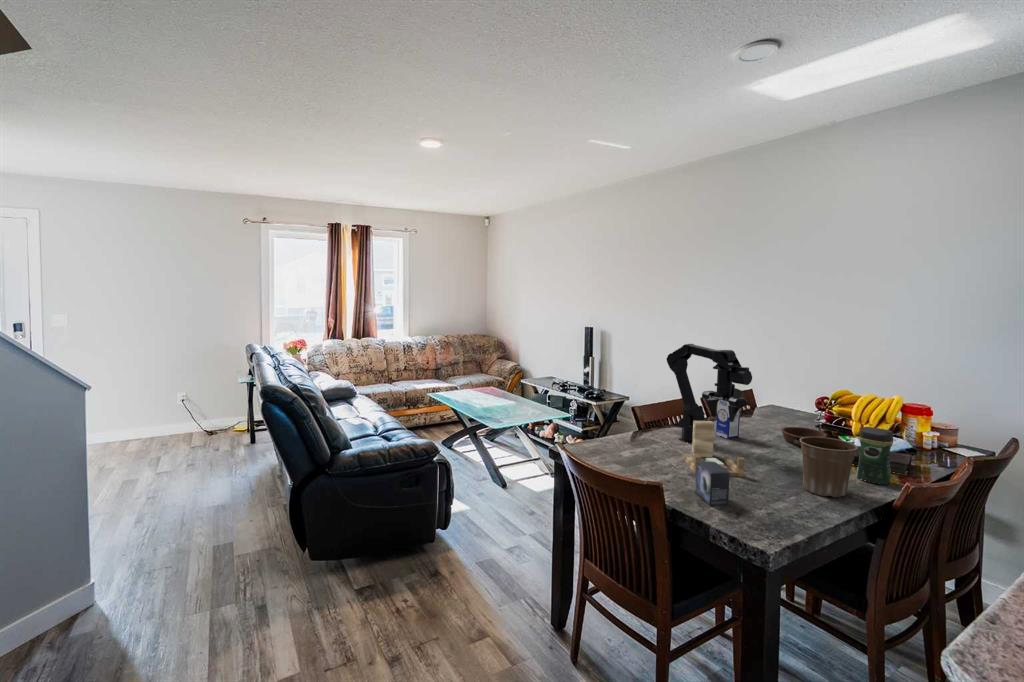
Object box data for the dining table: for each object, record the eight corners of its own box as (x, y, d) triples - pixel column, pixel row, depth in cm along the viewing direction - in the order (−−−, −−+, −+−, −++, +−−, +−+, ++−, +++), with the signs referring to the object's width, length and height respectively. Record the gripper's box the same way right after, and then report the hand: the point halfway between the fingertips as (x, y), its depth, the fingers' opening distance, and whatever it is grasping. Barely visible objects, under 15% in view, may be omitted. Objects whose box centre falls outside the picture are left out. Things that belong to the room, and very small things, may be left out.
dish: (776, 445, 226) (777, 433, 225) (783, 434, 244) (784, 423, 243) (823, 452, 216) (824, 440, 215) (827, 440, 234) (828, 429, 233)
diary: (835, 452, 218) (836, 440, 218) (910, 466, 202) (912, 453, 202) (826, 462, 204) (827, 449, 204) (907, 478, 188) (908, 464, 187)
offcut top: (714, 462, 193) (714, 457, 193) (724, 468, 187) (724, 463, 186) (705, 462, 193) (705, 458, 193) (714, 468, 186) (714, 464, 186)
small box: (693, 492, 170) (695, 461, 169) (713, 492, 171) (714, 460, 170) (708, 506, 160) (710, 472, 159) (729, 505, 160) (731, 472, 159)
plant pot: (809, 478, 185) (812, 433, 183) (861, 492, 172) (865, 444, 170) (787, 489, 174) (790, 441, 173) (841, 505, 162) (845, 453, 160)
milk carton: (715, 435, 239) (717, 391, 237) (726, 433, 242) (728, 390, 240) (727, 439, 233) (730, 394, 231) (739, 437, 235) (741, 393, 233)
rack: (683, 460, 202) (684, 443, 201) (728, 462, 200) (729, 444, 200) (694, 476, 185) (695, 456, 184) (743, 478, 183) (744, 459, 183)
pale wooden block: (691, 455, 209) (693, 420, 208) (709, 456, 209) (711, 421, 207) (693, 458, 206) (695, 422, 204) (712, 458, 205) (714, 423, 204)
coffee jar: (892, 482, 182) (897, 429, 181) (886, 487, 177) (890, 433, 175) (860, 474, 190) (864, 423, 188) (853, 479, 184) (857, 427, 183)
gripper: (758, 383, 208) (756, 422, 209) (721, 376, 225) (720, 412, 226) (737, 385, 203) (735, 425, 205) (701, 378, 220) (700, 415, 222)
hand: (722, 419), depth 215 cm, fingers open, 9 cm apart
